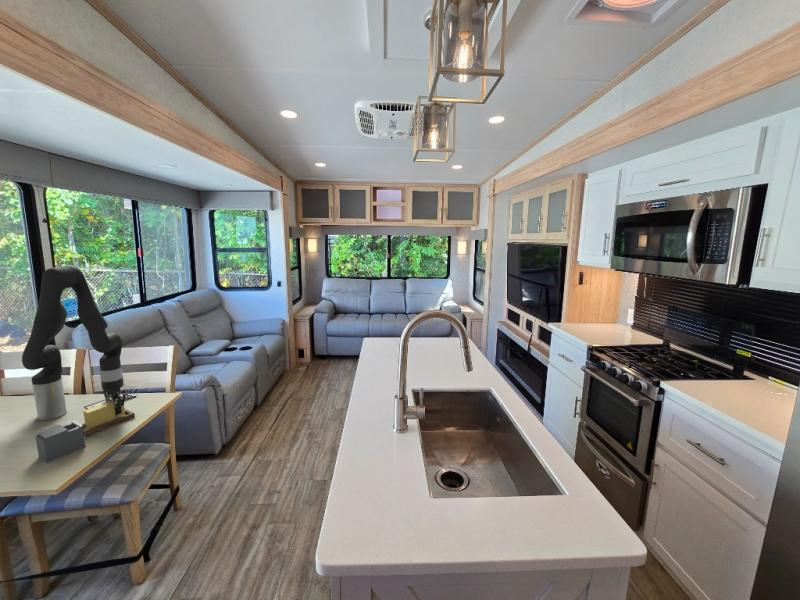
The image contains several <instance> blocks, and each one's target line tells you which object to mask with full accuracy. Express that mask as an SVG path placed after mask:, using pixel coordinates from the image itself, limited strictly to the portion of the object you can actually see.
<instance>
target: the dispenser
mask: <svg viewBox="0 0 800 600" xmlns="http://www.w3.org/2000/svg"><path fill="white" fill-rule="evenodd" d="M81 424H82V423H80V422H78V421H75V420H73V421H71V422H70V423H67V424H65V425H61V424H57V425H54V426H52V427H49V428H46V429H43V430H40V431H37V432H36V435H34V436H35V438H34V439H35V442H36V443H35V444H36V449H37V454H38V458H39V459H41V460H42V461H43V462H45V463H46V464H48V463H51V462H53V461H55V460H57V459H58V460H59V459H60V458H63V457H65V456H67V455H70V454H71V453H74V452H76V451H79V450H81V449H83V448H86V447H87V445H86V439H85V438H86V437H84V431H83V425H81ZM76 426H77V427H76Z"/></svg>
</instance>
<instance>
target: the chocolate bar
mask: <svg viewBox="0 0 800 600" xmlns="http://www.w3.org/2000/svg"><path fill="white" fill-rule="evenodd" d="M128 394H132V393H131V392H129V391H126V392H123V393H121V395H125V401H124V402H127V401H129V399H130V400H132V398H133V399H136V398H137V397H136V396H137V395H136V396H132V395H128ZM126 396H127V397H126ZM129 396H130V397H129ZM126 400H127V401H126ZM105 403H108V402H106V399H103V400H100V401H97V402H93V403H91V404H88V405H85V406H84V408H85V410H88V409H90V408H93V407H96V406H99V405H102V404H105Z"/></svg>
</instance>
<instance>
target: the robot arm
mask: <svg viewBox="0 0 800 600" xmlns="http://www.w3.org/2000/svg"><path fill="white" fill-rule="evenodd" d="M70 288H71V289H72V290H73V292H74V293H75V296H76V300H77V315H78V318H79V320H80V322H81V324H82V325H83V326H84V328H85V329H86V331H87V335H88V338H89V341H90V344H91V347H92V348H93V349H94V350H95V351H96V352H98V353H100V354H102V356H101V357H100V358H99V361H98V362H99V363H98V364H99V371H100V374H99V376H100V377H99V378H100V383H101V384H100V386H101V390H102V392H103V396H104V398H105V399H106V402H111V401H112V403H114V407H115V414H116V415H118V414H121V413H122V409H121V406H123V405H124V406H125V402H126V401H125V395H121V394H122V391H121V388H123V387H124V385H125V382H124V374H123V373H124V372H123V369H122V363H121V355H122V347H123V340H122V338H121V336H120V335H119V334H117V333H115V332H114V333H113V332H110V333H107V332H106V329H107V328H108V326H109V324H108V322H107V320H106V319H105V318H104V316H103V314H102V313H101V311H100V310H99V307H98V306H97V304H96V302H95V300H94V299H95V298H94V297H93V294H92V292H91V289H90V287H89V284H88V281H87V279H86V277H85V275H84V273H83V272H82V270H81V269H80V268H79V267H77V266H76V265H72V264H67V265H60V266H55V267H50V268H47V269H46V270H44V272H43V273H42V276H41V283H40V295H39V299H38V305H37V309H36V312H35V316H34V320H33V324H32V328H31V332H30V335H29V338H28V339H27V340H28V341H27V343H26V345H25V348H24V350H23V352H22V356H21V363H22V366H23V367H24V368H25V369H26V370H29V371H34V370H35V371H36V370H40V369H41V370H40V371H38V372H37V373H36V374H34V375H33V376H31V379H30V380H31V385H32V390H33V396H34V397H33V398H34V402H35V408H36V415H37V419H38V420H39V421H50V420H52V419H57V418H60V417H62V416H64V415H65V414H67V411H68V410H67V404H66V403H67V402H66V398H65V391H64V384H63V378H62V373H63V364H62V353H61V351H60V349H59V348H58V347H57V346H56V345H55V344H48V343H50V342H51V341H52V340H53V339H54V338H55V337H56V336H57V335H59V334H60V332H61V331H62V330H63V328H64V327H65V324H66V321H67V318H68V313H67V309H66V308H65V306H64V305H63V303H62V302H61V299H62V295H63V292H64V291H65V289H70ZM105 399H104V400H105ZM116 399H117V400H116ZM114 400H115V401H114ZM116 402H117V404H116Z"/></svg>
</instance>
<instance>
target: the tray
mask: <svg viewBox="0 0 800 600" xmlns="http://www.w3.org/2000/svg"><path fill="white" fill-rule="evenodd" d="M135 417H136V416H135V413H134V412H133V411H131V410H129V409H127V408H125V414H124V415H122V416H119V417H117V418H114V419H111V420H109V421H106V422H104V423H101V424H99V425H96V426H93V427H91V428H89V427H87V426H85V422H84V423H80V424H81V425H83V431H84V438H87V437H89V436H92V435H94V434H95V435H96V434H97V433H99V432H102V431H104V430H107V429H109V428H112V427H114V426H117V425H119V424H121V423H124V422H126V421H129V420H132V419H134V418H135ZM76 427H77V426H76Z"/></svg>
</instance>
